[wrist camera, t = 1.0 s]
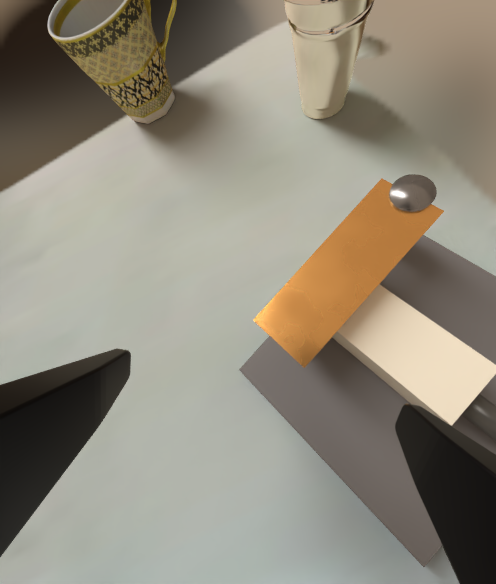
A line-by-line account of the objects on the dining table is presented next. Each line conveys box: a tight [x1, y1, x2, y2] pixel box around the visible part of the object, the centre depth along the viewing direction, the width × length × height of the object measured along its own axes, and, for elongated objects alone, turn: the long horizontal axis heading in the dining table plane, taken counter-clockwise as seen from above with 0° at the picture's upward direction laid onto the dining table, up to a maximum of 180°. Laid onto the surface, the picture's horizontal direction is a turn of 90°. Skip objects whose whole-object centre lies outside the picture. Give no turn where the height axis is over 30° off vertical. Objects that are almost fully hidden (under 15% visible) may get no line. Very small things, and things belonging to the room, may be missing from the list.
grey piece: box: [239, 235, 496, 567], centre depth 16 cm, size 16×18×5 cm
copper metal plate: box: [254, 175, 444, 368], centre depth 15 cm, size 4×13×2 cm, turn 136°
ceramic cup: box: [48, 0, 176, 124], centre depth 27 cm, size 13×10×10 cm
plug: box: [332, 284, 496, 442], centre depth 15 cm, size 13×4×4 cm, turn 46°
